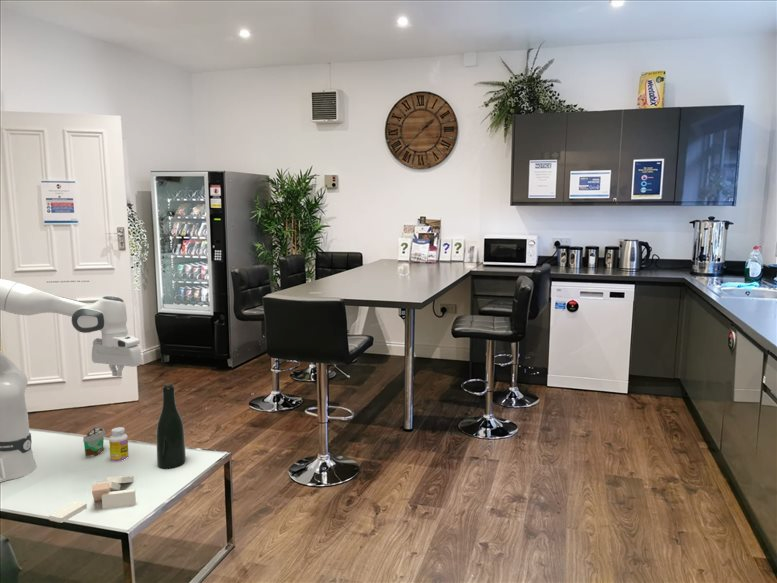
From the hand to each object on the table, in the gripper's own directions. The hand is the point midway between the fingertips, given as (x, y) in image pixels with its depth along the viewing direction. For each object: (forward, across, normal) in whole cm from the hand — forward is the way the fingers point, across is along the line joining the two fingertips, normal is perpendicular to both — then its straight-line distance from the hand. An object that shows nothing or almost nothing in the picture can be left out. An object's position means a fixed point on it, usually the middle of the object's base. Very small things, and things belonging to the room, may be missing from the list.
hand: (117, 375), depth 218 cm
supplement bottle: (+37, -8, +7) cm, 39 cm away
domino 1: (+36, +8, -28) cm, 46 cm away
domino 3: (+36, +9, -7) cm, 38 cm away
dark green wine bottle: (+37, +16, +9) cm, 41 cm away
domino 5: (+35, +16, -26) cm, 46 cm away
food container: (+37, -20, +8) cm, 43 cm away
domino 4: (+36, +9, -14) cm, 40 cm away
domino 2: (+36, +11, -21) cm, 43 cm away
